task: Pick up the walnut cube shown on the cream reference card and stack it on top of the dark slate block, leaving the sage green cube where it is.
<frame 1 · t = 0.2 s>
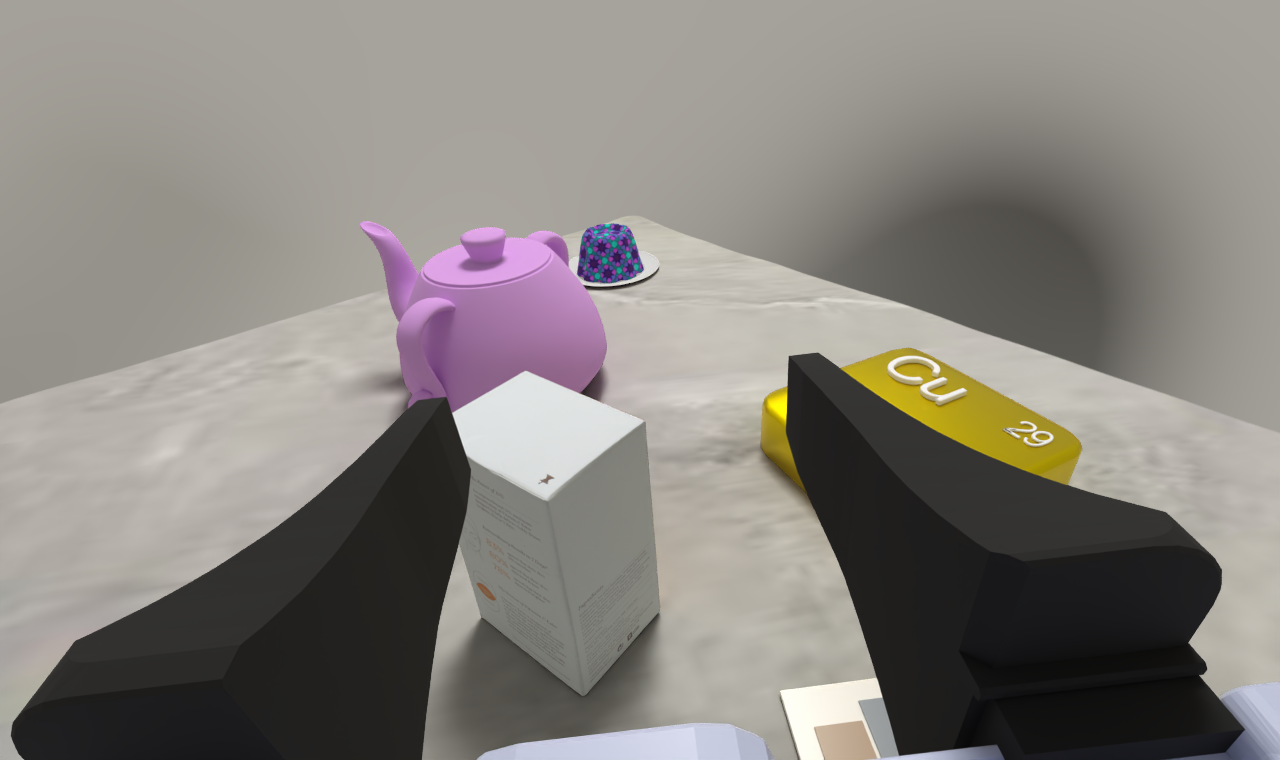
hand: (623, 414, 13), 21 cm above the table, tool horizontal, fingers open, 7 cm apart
small box: (570, 616, 34), on the table
reference card: (866, 750, 27), on the table
element tile: (900, 470, 43), on the table
teapot: (492, 381, 56), on the table
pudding: (610, 273, 76), on the table
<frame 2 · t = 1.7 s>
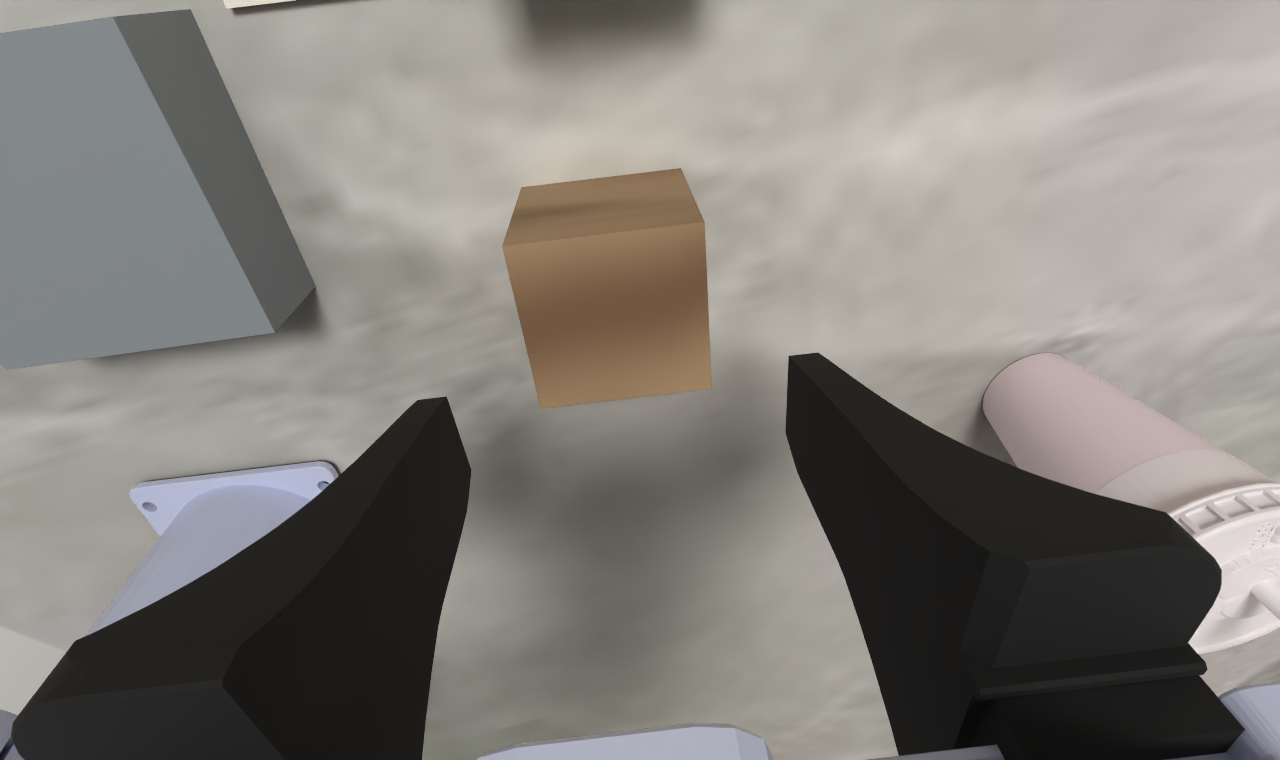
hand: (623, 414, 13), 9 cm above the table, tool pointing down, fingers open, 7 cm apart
slate block: (135, 180, 19), on the table
smoothie: (1025, 389, 25), on the table
walnut cube: (611, 252, 21), on the table
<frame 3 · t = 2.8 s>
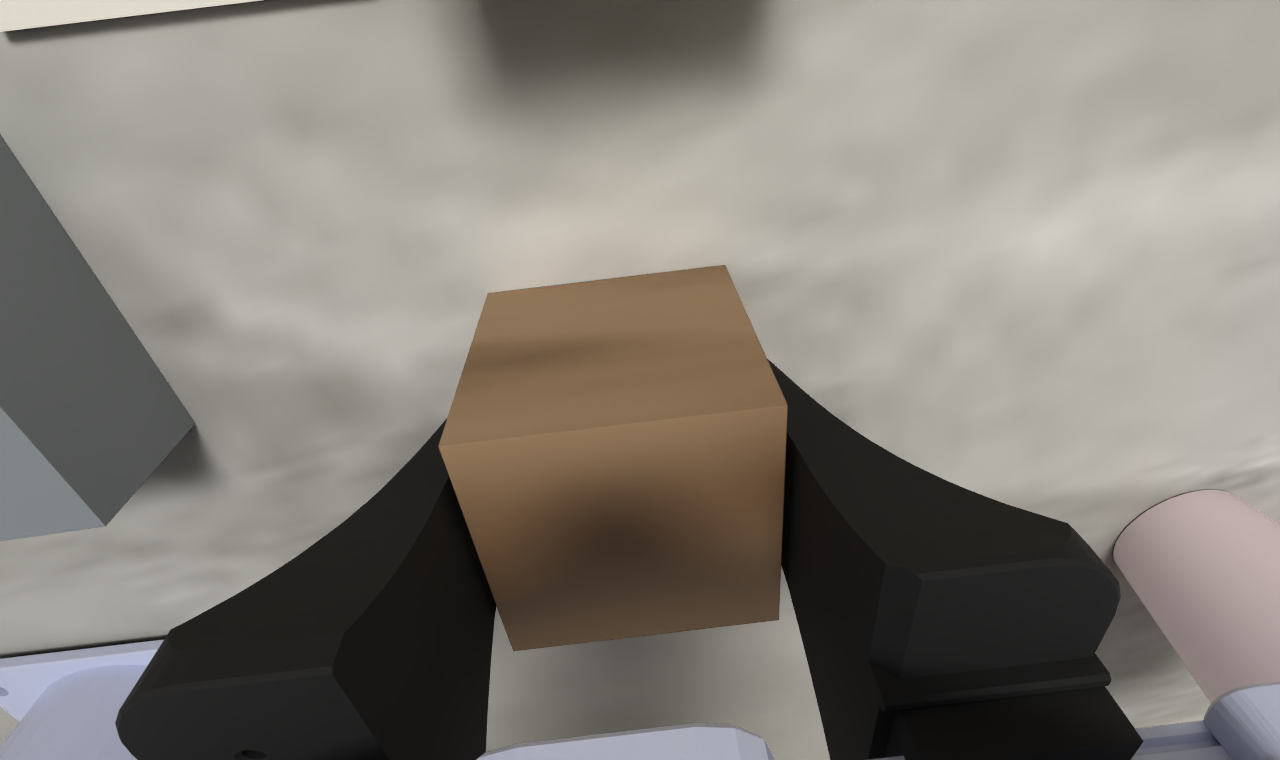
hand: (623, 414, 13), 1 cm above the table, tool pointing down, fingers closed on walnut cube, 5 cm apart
smoothie: (1171, 529, 19), on the table
walnut cube: (620, 378, 14), on the table, touching gripper
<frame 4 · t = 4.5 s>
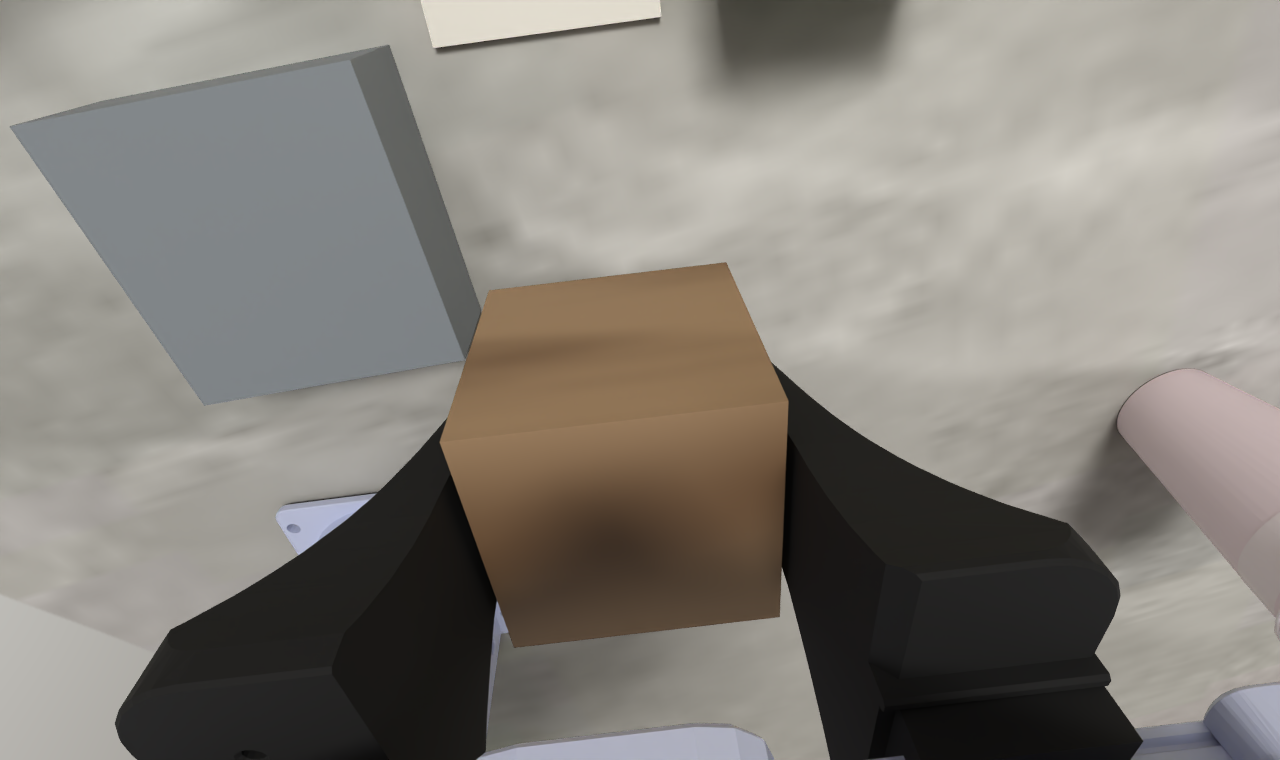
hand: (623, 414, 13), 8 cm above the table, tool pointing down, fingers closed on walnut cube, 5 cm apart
slate block: (316, 213, 19), on the table
smoothie: (1161, 404, 25), on the table
walnut cube: (621, 375, 14), point 7 cm above the table, touching gripper
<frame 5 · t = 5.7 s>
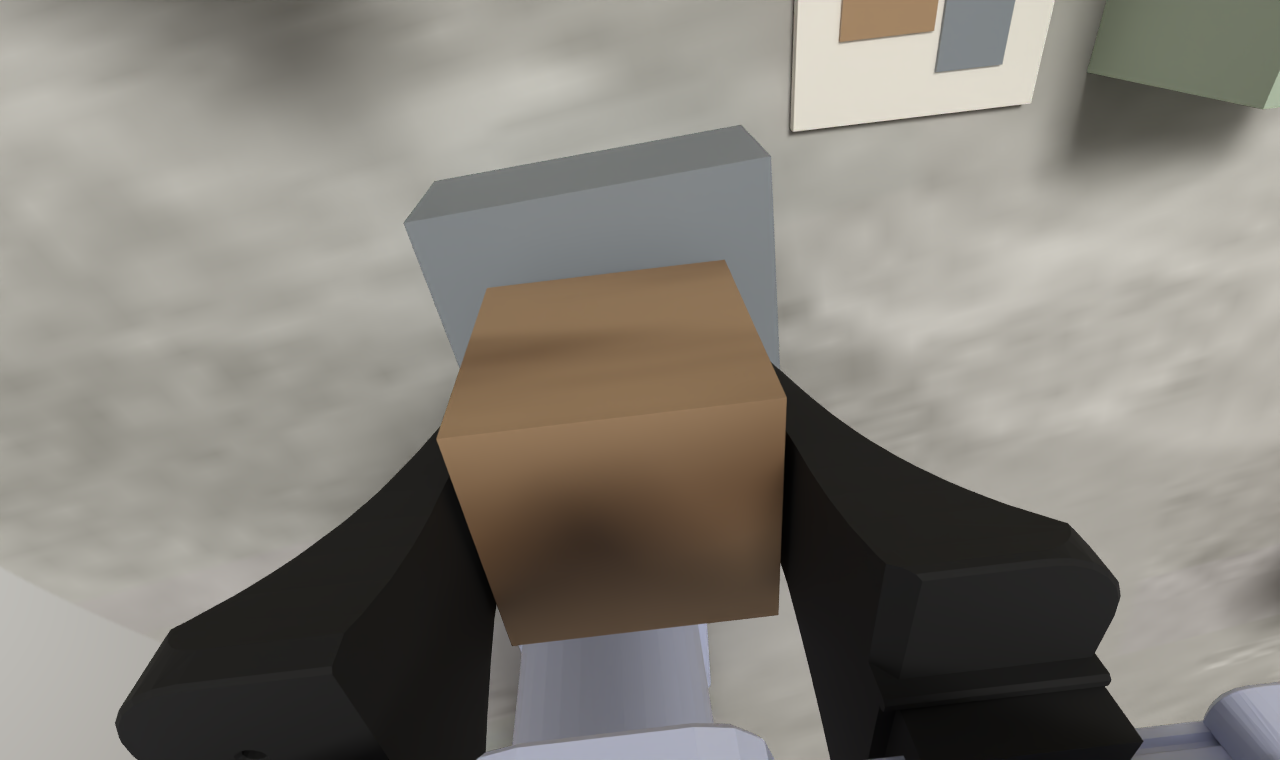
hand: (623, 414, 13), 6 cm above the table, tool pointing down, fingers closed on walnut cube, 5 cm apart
slate block: (614, 288, 18), on the table
walnut cube: (619, 373, 14), point 4 cm above the table, touching gripper
when the fingers open (6 cm above the table, at t = 6.5 s): walnut cube drops 1 cm, point 3 cm above the table.
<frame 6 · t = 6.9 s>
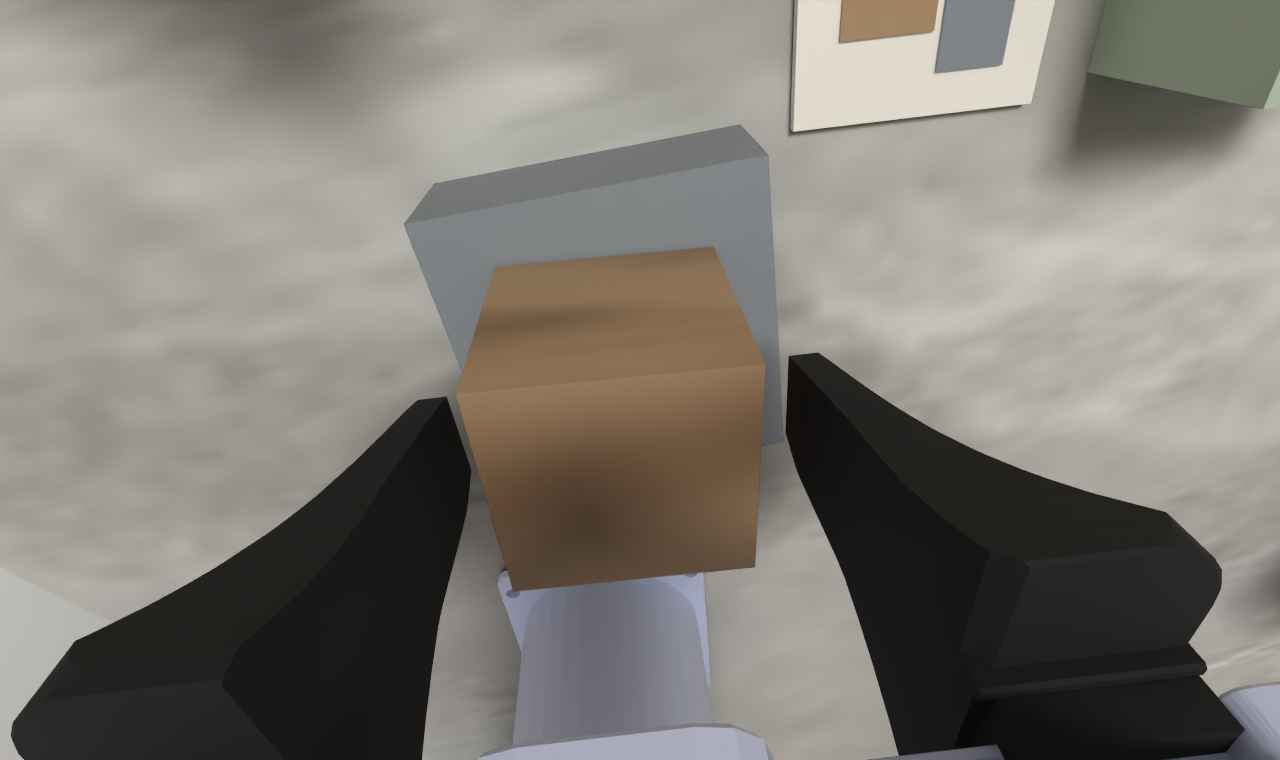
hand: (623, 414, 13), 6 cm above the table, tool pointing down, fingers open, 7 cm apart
slate block: (614, 287, 18), on the table
walnut cube: (614, 350, 15), point 3 cm above the table
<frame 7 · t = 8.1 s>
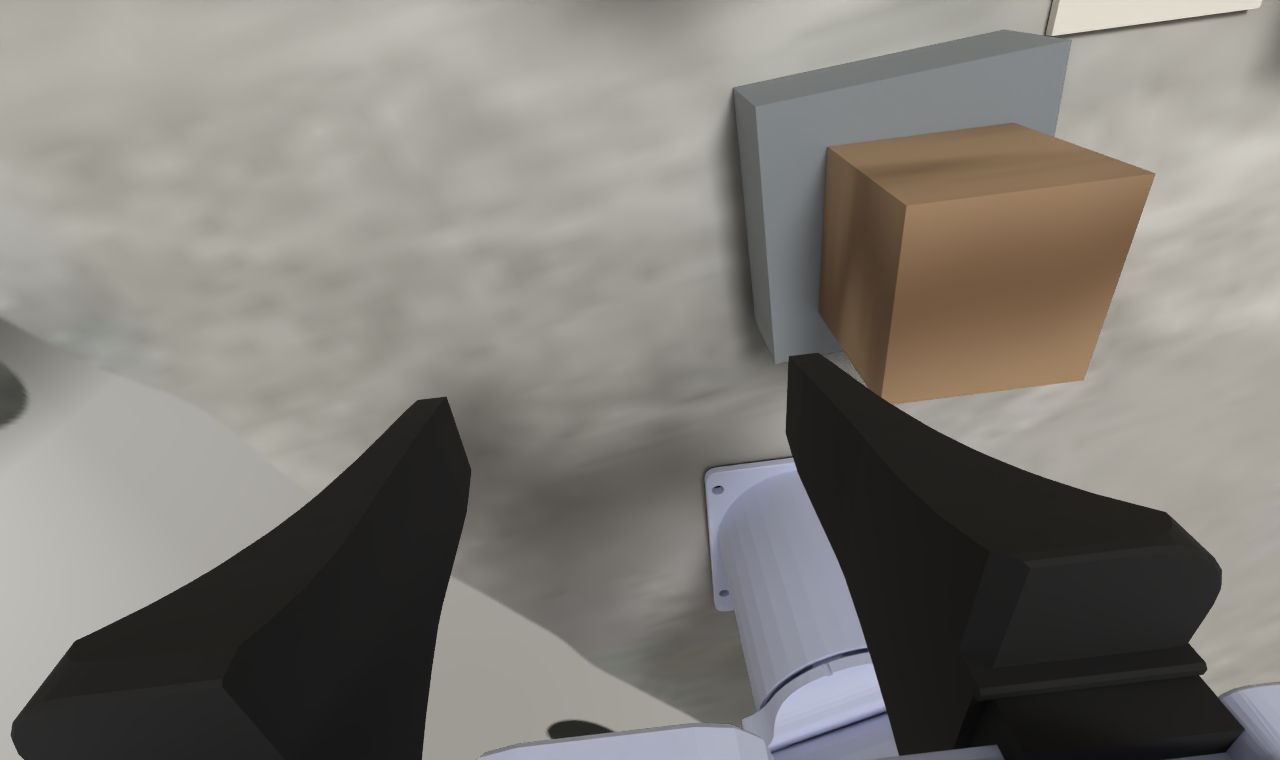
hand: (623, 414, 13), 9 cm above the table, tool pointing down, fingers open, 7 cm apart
slate block: (860, 188, 21), on the table
walnut cube: (908, 224, 18), point 3 cm above the table
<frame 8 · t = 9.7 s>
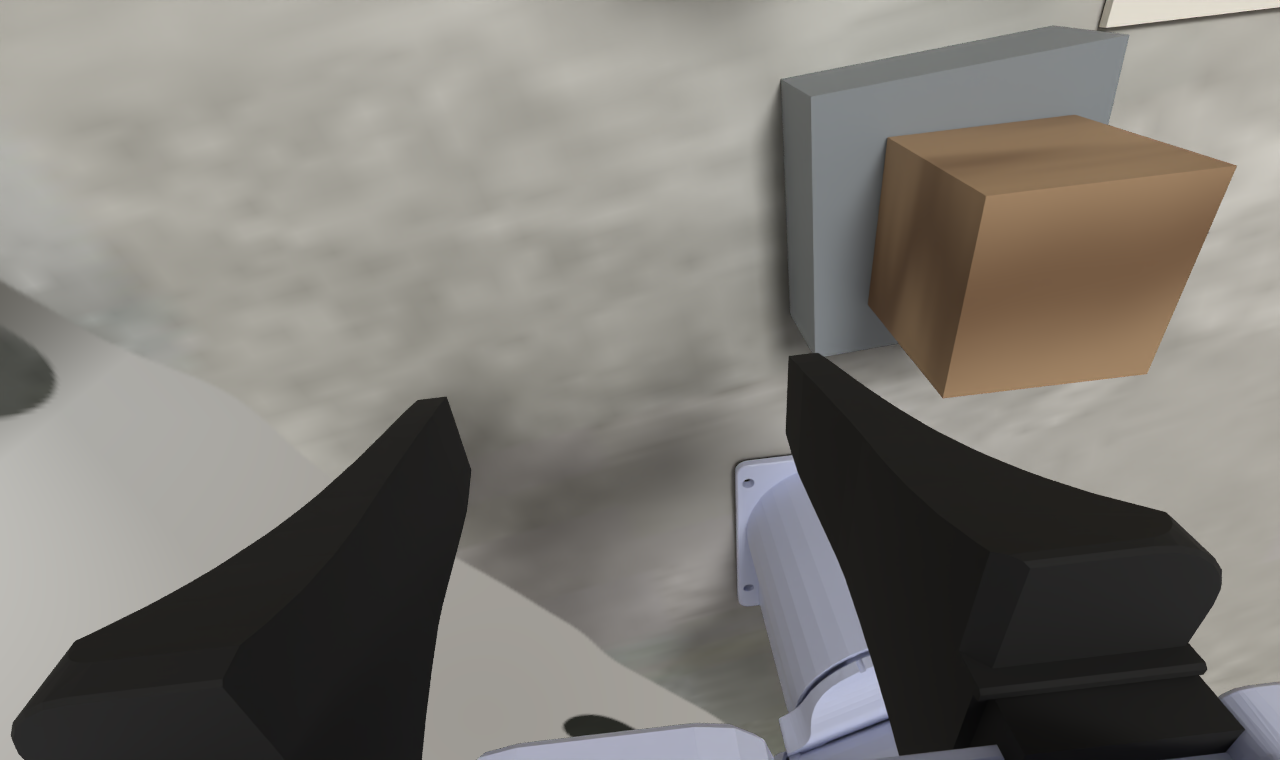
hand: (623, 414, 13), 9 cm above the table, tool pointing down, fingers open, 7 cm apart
slate block: (901, 183, 21), on the table, touching walnut cube
walnut cube: (963, 217, 18), point 3 cm above the table, touching slate block
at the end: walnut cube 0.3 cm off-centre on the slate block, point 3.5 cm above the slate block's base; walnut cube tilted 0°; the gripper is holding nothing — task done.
